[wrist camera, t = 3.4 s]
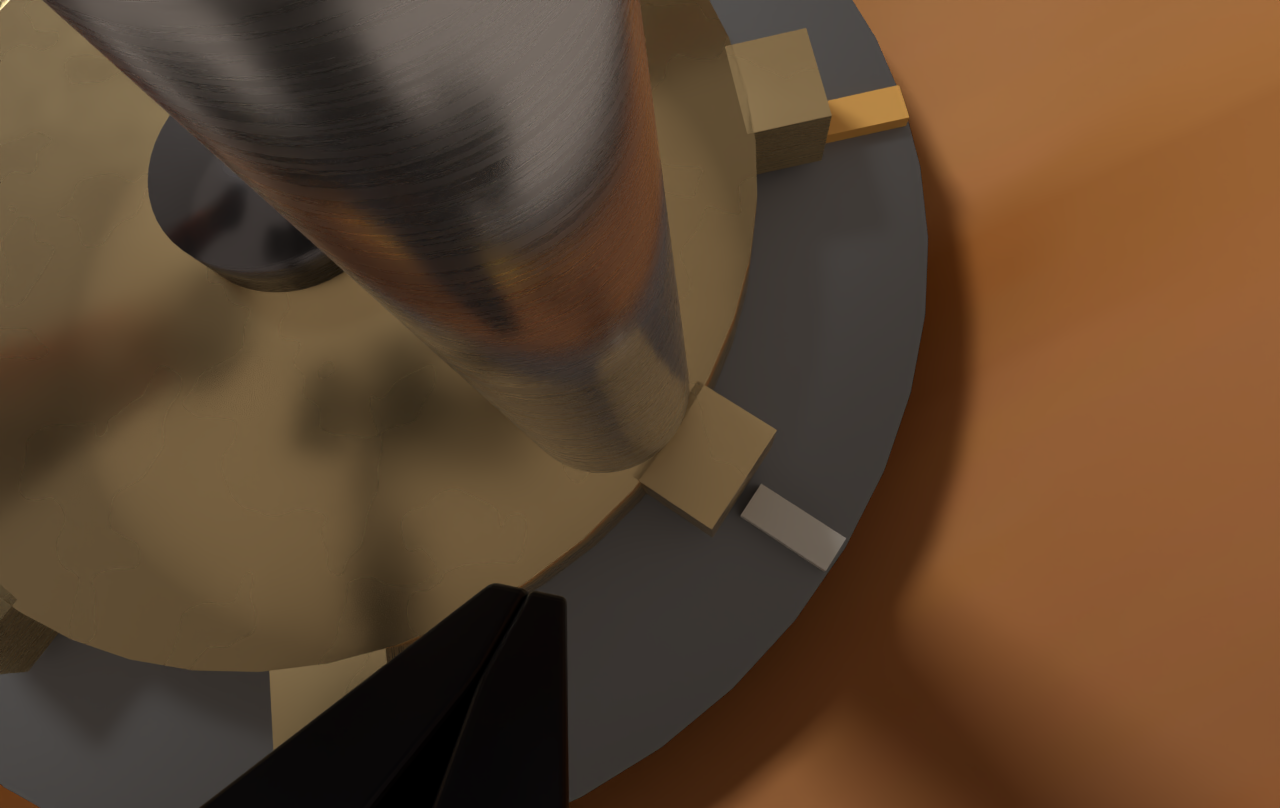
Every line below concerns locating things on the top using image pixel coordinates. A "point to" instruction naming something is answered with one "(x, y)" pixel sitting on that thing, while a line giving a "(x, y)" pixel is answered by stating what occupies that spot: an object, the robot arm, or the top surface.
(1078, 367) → the top surface
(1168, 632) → the top surface
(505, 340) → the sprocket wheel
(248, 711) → the base plate
